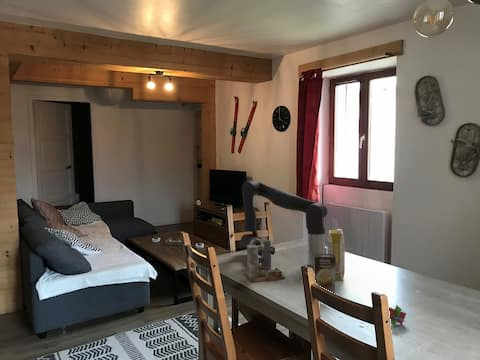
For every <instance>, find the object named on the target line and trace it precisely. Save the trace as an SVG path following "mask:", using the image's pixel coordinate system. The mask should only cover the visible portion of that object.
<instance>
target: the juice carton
mask: <svg viewBox="0 0 480 360" xmlns="http://www.w3.org/2000/svg"><path fill="white" fill-rule="evenodd" d="M326 238H327V242H326V244H327V245H326V248H327V254H334V255H335V257H336V264H335V282H338V281H340V282H341V281H344V278H345V271H346V267H345V264H346V263H345V261H346V260H345V256H346V255H345V253H346V252H345V251H346V249H345V246H346V244H345V243H346V242H345V241H346V240H345V237H344V231H343V230H342V229H341V228H336V229H329V230H328V234H327V237H326Z"/></svg>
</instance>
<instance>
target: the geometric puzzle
mask: <svg viewBox="0 0 480 360" xmlns="http://www.w3.org/2000/svg"><path fill="white" fill-rule="evenodd" d="M394 306H395V308H393V307H394ZM389 311H390V319H391V323H390V324H391V325H392V326H393V327H394V328H395V326H397V325H396V324H398V323H400V324H399V325H403V323H405V322H406V318H407V317H406V316H407V312H405V311H403V309H402V308H401V307H400V306H398V304H395V305H393V306H391V307H390V306H389Z"/></svg>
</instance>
